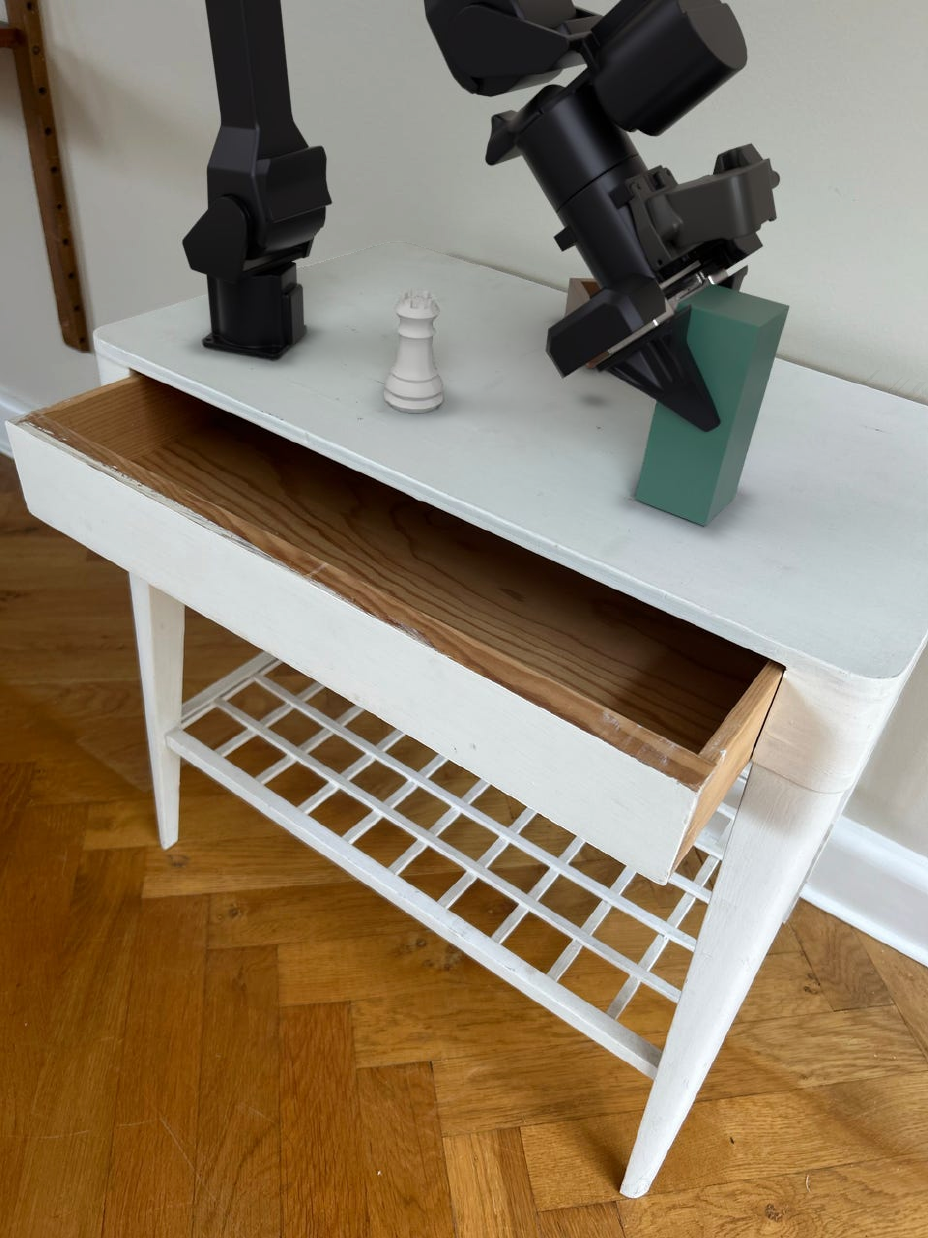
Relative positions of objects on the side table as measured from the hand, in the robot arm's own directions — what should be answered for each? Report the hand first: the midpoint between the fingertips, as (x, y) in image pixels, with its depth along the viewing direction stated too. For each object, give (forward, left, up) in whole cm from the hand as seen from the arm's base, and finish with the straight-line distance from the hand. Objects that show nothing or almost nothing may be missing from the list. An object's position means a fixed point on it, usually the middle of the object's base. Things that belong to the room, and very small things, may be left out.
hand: (730, 413), depth 62 cm
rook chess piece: (-22, +7, -7) cm, 24 cm away
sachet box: (-1, 0, -7) cm, 7 cm away
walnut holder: (-8, +24, -7) cm, 27 cm away
